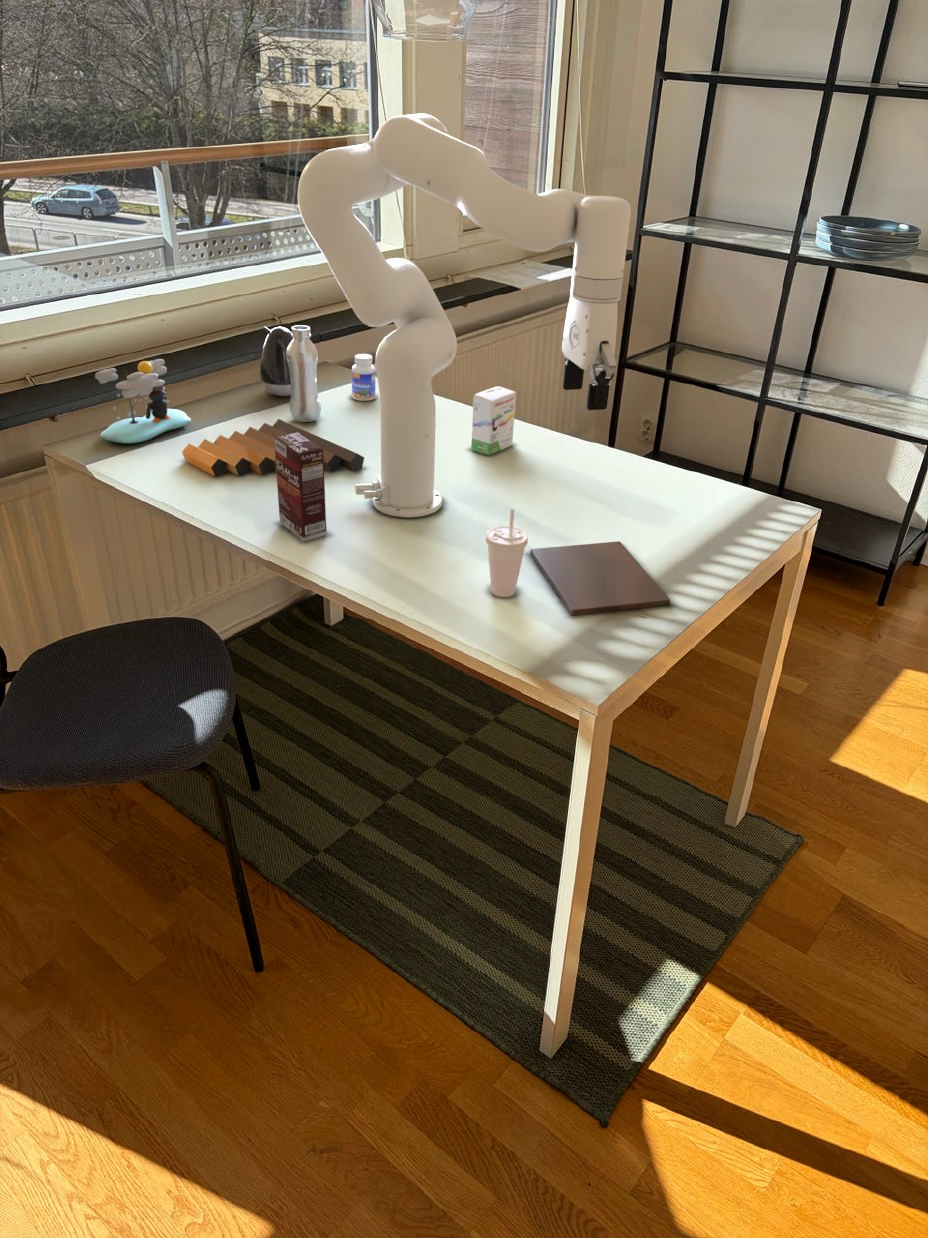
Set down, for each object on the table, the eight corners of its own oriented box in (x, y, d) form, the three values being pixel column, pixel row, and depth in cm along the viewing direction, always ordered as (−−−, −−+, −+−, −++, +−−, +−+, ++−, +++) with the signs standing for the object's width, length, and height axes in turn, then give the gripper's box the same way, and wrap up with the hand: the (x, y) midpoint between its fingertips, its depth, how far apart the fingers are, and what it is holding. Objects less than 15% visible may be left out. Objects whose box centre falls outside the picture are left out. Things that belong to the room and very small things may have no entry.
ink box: (488, 456, 195) (492, 400, 189) (469, 450, 198) (472, 394, 192) (513, 445, 201) (517, 390, 195) (494, 439, 204) (498, 385, 197)
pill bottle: (349, 400, 221) (348, 358, 216) (355, 392, 226) (354, 351, 221) (372, 402, 220) (371, 360, 215) (377, 395, 225) (377, 353, 220)
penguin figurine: (169, 413, 209) (161, 344, 201) (202, 425, 204) (195, 354, 196) (90, 438, 195) (77, 365, 187) (123, 451, 190) (112, 376, 182)
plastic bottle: (319, 425, 206) (315, 332, 196) (287, 424, 206) (282, 330, 196) (323, 415, 212) (319, 324, 201) (292, 414, 212) (287, 322, 201)
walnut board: (571, 615, 143) (572, 610, 142) (530, 554, 159) (530, 548, 159) (669, 605, 147) (670, 599, 146) (619, 546, 163) (619, 541, 162)
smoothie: (520, 604, 145) (527, 520, 138) (478, 598, 146) (483, 515, 139) (526, 584, 151) (533, 502, 143) (486, 578, 152) (491, 497, 144)
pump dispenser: (282, 382, 230) (278, 318, 222) (314, 392, 225) (311, 326, 217) (251, 393, 223) (246, 327, 215) (283, 403, 218) (279, 335, 210)
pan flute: (364, 467, 188) (286, 432, 202) (364, 451, 186) (285, 416, 200) (259, 502, 172) (182, 461, 186) (258, 485, 170) (180, 445, 185)
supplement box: (278, 523, 165) (272, 436, 157) (302, 517, 168) (298, 430, 159) (302, 543, 159) (298, 453, 151) (328, 536, 162) (324, 447, 154)
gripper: (551, 274, 148) (542, 383, 157) (596, 302, 134) (583, 419, 143) (596, 273, 150) (584, 380, 159) (644, 300, 136) (629, 416, 145)
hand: (584, 398), depth 151 cm, fingers open, 9 cm apart
